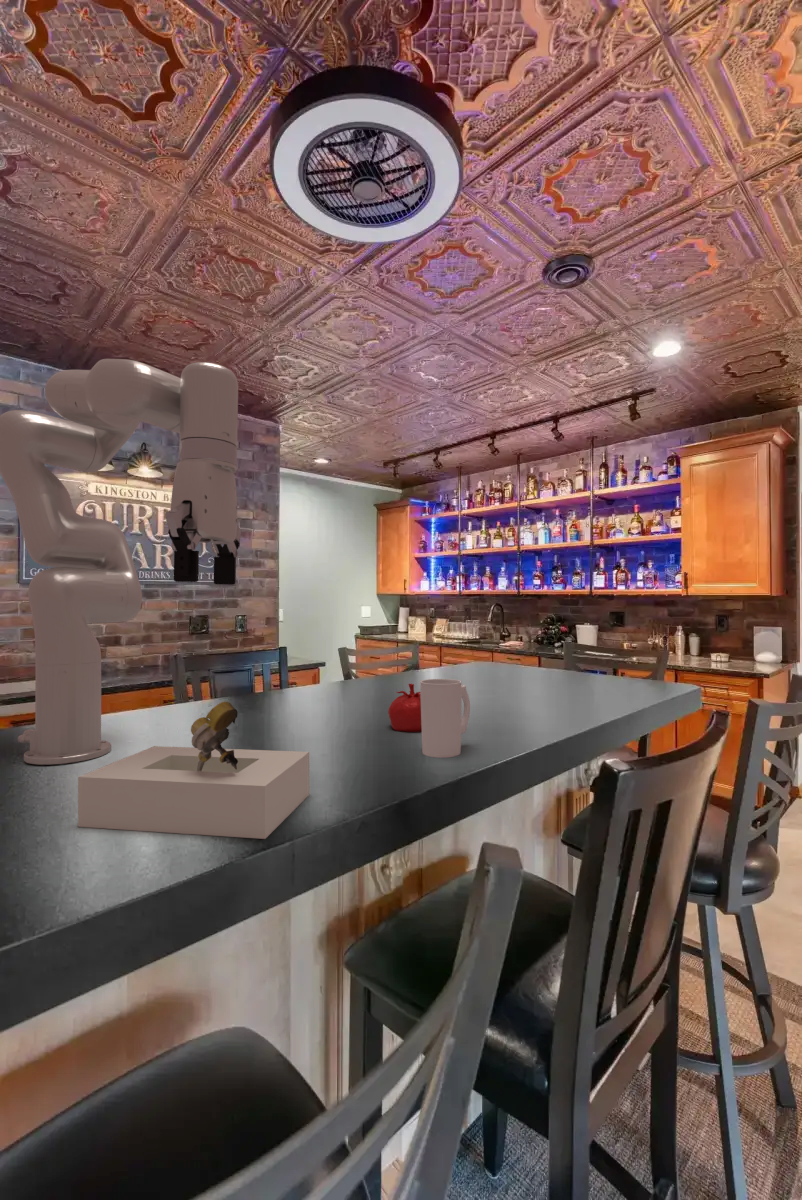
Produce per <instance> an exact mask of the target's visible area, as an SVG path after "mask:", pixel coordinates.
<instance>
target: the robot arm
mask: <svg viewBox="0 0 802 1200" xmlns="http://www.w3.org/2000/svg"><path fill="white" fill-rule="evenodd" d="M44 391H45V392H44V393H45V394H44V395H45V399H46V402H47V403H48V405H49V407H50V408H51V409H52V410H53V412H55V413H56V414H58V416H60V417H57V416H53V415H49V414H45V413H42V412H38V411H37V412H36V411H32V410H26V409H25V410H24V409H14V410H8V411H6V412H4V413H1V415H0V476H1V477H2V480H3V482H4V483H5V485H6V487H7V489H8V491H9V493H10V495H11V497H12V499H13V503H14V506H15V510H16V514H17V517H18V522H19V525H20V528H21V533H22V537H23V540H24V544H25V547H26V551H27V553H28V555H29V556H30V558H31V560H32V561H33V562H34V563H36V564H38V565H41V566H45V567H50V568H46V569H44V570H41V571H39V572H37V573H36V574H35V575H34V576H32V578H31V581H30V583H29V584H28V590H27V591H28V592H27V598H28V603H29V608H30V613H31V617H32V623H33V624H32V625H33V631H34V642H35V643H34V651H35V652H34V653H35V654H34V655H35V656H34V657H35V658H34V659H35V660H34V661H35V662H34V664H35V682H34V683H35V686H34V687H35V694H34V695H35V704H34V705H35V707H34V708H35V713H34V714H35V716H34V717H35V718H34V719H35V720H34V721H35V725H34V729H33V728H32V729H29V728H28V729H25V730H24V731H23V733H22V734H19V736H17V741H18V743H23V744H28V743H29V749H28V750H27V751H25V752H24V754H23V761H24V763H27V764H31V765H38V766H39V765H40V766H45V765H46V766H47V765H48V766H51V765H53V766H54V765H63V764H73V763H80V762H84V761H89V760H93V759H96V758H99V757H103V756H105V755H107V754H108V753H110V752H111V751H112V743H111V742H109V741H108V740H107V741H106V740H104V739H102V652H101V646H100V643H99V641H98V640H97V638H96V636H95V635H94V633H93V631H92V630H91V629H90V627H89V626H88V624H89V625H90V624H110V623H112V624H113V623H114V624H115V623H124V622H129V621H131V620H132V619H135V618H136V616H137V615H138V614H139V613H140V611H141V607H142V603H143V594H142V593H143V592H142V587H141V583H140V580H139V577H138V572H137V569H136V566H135V562H134V560H133V557H132V553H131V550H130V547H129V544H128V541H127V538H126V535H125V534H124V532H123V531H122V530H121V528H120V527H119V526H118V525H117V524H115V523H114V522H111V521H110V520H106V519H103V518H95V517H89V516H85V515H84V516H83V515H81V514H78V513H77V511H76V510H75V508H74V505H73V504H72V499H71V498H72V497H71V495H70V492H69V491H68V490H67V488H66V486H65V485H64V483H62V481H61V480H60V478H58V477H57V475H55V474H54V473H53V472H52V471H51V470H50V469H49V468H48V467H47V466H46V465H49V466H54V467H58V468H63V469H67V470H73V471H78V472H82V473H83V472H84V473H96V472H98V471H100V470H102V469H104V468H105V467H106V466H107V465H108V464H109V463H110V462H111V460H113V458H114V456H116V454H117V453H118V452H119V451H120V449H122V448H123V446H124V445H125V444H126V443H127V442H128V441H129V439H130V438H131V437H133V436H132V435H134V433H135V432H136V429H138V427H139V425H140V422H141V423H146V424H149V425H153V426H155V427H159V428H162V429H164V430H167V431H169V432H173V433H176V434H179V444H178V445H179V450H178V452H179V454H178V455H179V456H178V457H179V458H178V459H179V460H178V461H179V462H177V464H176V467H175V471H174V477H173V482H172V490H171V499H170V500H171V501H170V510H168V511H166V512H165V513H164V514H165V515H164V517H165V521H166V524H167V525H166V526H167V528H168V536H169V537H170V540H171V545H170V546H171V549H172V550H173V552H174V553H173V581H174V582H176V583H197V582H198V581H199V566H200V565H199V563H200V561H199V560H200V559H199V558H200V551H199V550H196V549H197V546H198V545H199V543H204V544H205V543H206V544H207V543H210V542H211V543H212V544H211V545H212V546H213V548H214V551H215V553H216V556H214V557H213V584H214V585H227V586H228V585H229V586H230V585H236V576H237V575H236V574H237V573H236V570H237V569H236V568H237V567H236V566H237V564H236V563H237V557H238V554H239V553H238V550H239V547H240V541H241V540H240V539H241V536H242V529H241V528H240V527H239V525H238V496H237V486H236V485H237V484H236V475H235V474H236V473H237V472H238V431H239V430H238V429H239V427H238V425H239V423H238V422H239V421H238V419H239V417H238V416H239V415H238V414H239V382H238V378H237V376H236V374H235V373H234V372H233V371H232V370H231V369H229V368H228V367H225V366H224V365H221V364H218V363H212V362H208V361H207V362H205V361H204V362H203V361H202V362H201V361H199V362H197V361H196V362H192V363H189V364H188V365H186V366H184V367H183V369H182V371H181V374H180V377H179V376H176V375H175V374H171V373H169V372H167V371H165V370H161V369H160V368H156V367H154V366H152V365H150V364H146V363H144V362H140V361H137V360H133V359H128V358H103V359H100V360H98V361H96V363H95V364H94V366H92V367H91V369H66V370H60V371H58V372H56V373H55V374H52V376H51V377H50V378H48V380H47V381H46V384H45V387H44ZM61 417H62V418H61ZM222 545H223V546H222Z"/></svg>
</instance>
